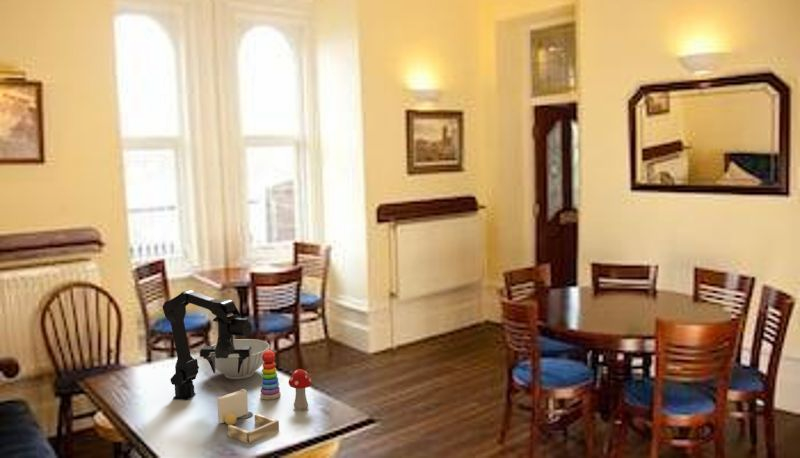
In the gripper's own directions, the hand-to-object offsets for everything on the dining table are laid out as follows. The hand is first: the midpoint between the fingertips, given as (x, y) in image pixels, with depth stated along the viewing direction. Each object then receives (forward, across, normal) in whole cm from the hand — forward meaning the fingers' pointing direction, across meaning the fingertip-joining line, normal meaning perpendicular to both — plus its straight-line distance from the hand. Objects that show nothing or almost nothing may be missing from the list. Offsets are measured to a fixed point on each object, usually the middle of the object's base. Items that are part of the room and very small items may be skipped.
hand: (226, 373), depth 259 cm
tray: (+12, +15, -27) cm, 33 cm away
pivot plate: (+12, +9, -11) cm, 19 cm away
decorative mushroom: (+12, +29, -5) cm, 32 cm away
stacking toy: (+13, +15, +8) cm, 21 cm away
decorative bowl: (+13, -3, +36) cm, 38 cm away
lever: (+12, +6, -14) cm, 19 cm away
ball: (+10, +6, -19) cm, 23 cm away
